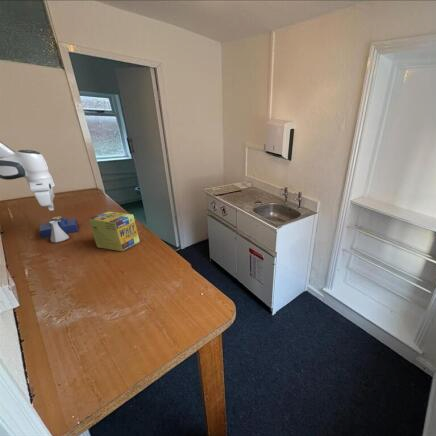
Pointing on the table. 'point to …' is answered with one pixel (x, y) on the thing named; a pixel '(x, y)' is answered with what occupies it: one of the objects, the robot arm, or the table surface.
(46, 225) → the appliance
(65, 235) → the flask
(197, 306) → the table surface
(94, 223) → the protein box
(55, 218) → the button
